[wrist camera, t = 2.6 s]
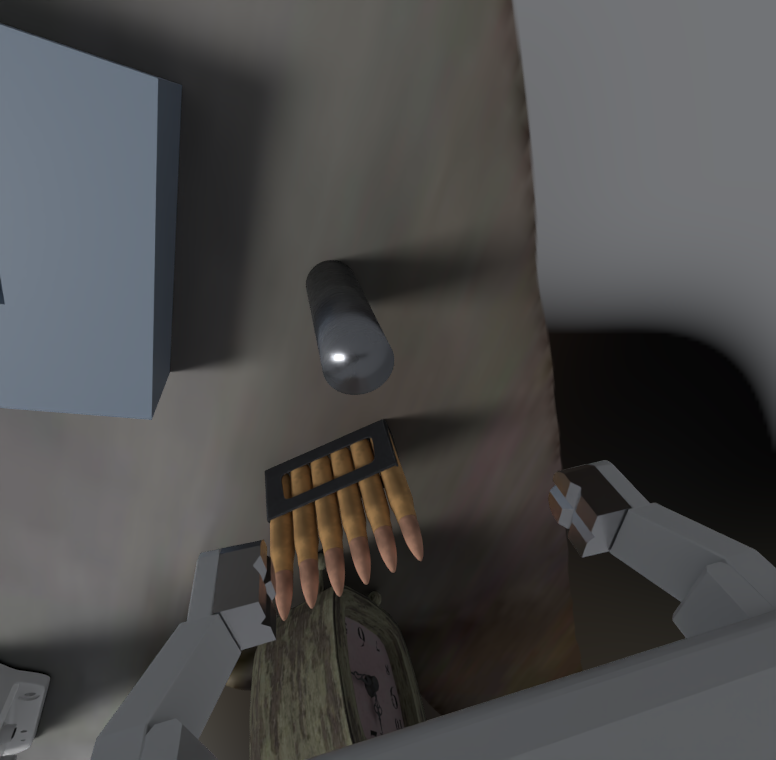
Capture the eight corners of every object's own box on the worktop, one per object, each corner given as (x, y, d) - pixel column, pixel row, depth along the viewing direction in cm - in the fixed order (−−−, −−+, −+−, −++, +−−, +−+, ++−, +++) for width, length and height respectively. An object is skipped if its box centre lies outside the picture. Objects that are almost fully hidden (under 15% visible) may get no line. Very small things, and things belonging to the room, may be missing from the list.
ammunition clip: (384, 418, 33) (431, 546, 23) (391, 433, 34) (439, 561, 24) (264, 470, 33) (261, 620, 23) (275, 484, 34) (277, 632, 24)
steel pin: (349, 312, 27) (382, 398, 19) (301, 303, 26) (315, 390, 18) (361, 266, 26) (403, 338, 18) (311, 255, 25) (331, 326, 17)
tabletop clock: (393, 590, 48) (484, 944, 27) (330, 625, 49) (371, 993, 28) (322, 536, 39) (375, 989, 19) (247, 581, 40) (222, 1056, 20)
